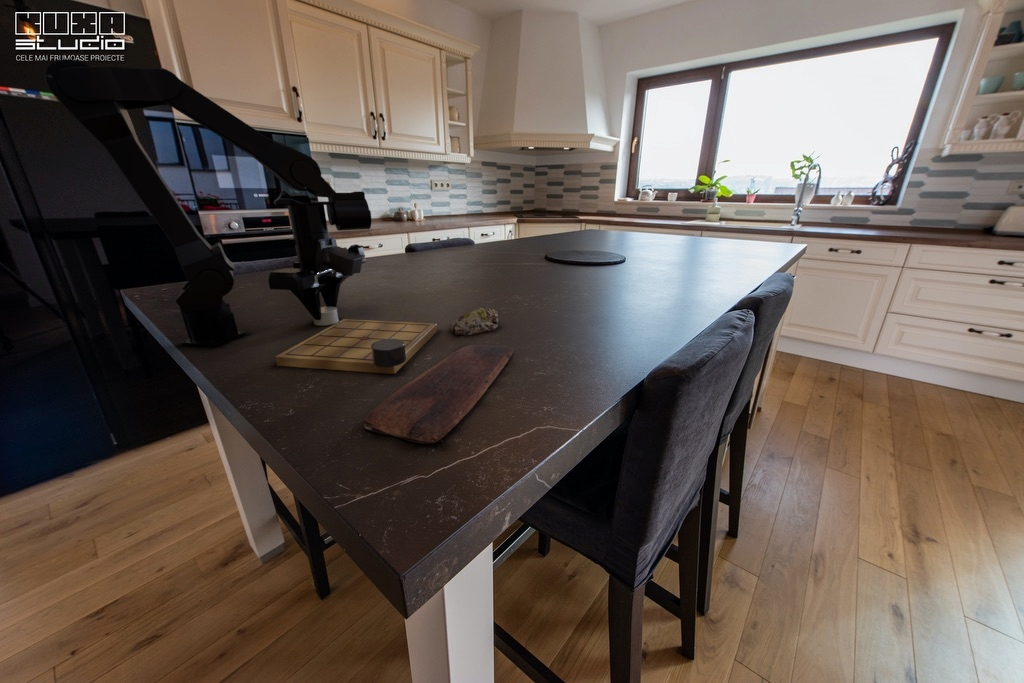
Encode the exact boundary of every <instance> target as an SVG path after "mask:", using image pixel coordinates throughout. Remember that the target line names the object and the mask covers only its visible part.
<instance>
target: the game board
mask: <svg viewBox="0 0 1024 683" xmlns="http://www.w3.org/2000/svg"><path fill="white" fill-rule="evenodd" d="M436 333H438V324H437V323H430V322H429V323H428V322H426V323H425V322H409V321H390V320H389V321H388V320H368V319H350V318H343V319H341V320H339V321H338V322H337V323H335V324H331V325H329V327H326V328H325V329H323V330H321V331H319V332H317V333H316V334H314V335H312V336H310V337H309V338H306V339H305V340H304V341H301V342H300V343H299V342H298V344H296V345H294V346H292V347H290V348H288V349H286V350H285V351H283V352H281V353H280V354H278V355H276V356H275V362H276V365H277V367H286V368H287V367H289V368H301V369H302V368H303V369H314V370H315V369H318V370H330V371H344V372H346V371H347V372H358V373H359V372H360V373H373V374H388V375H395V374H397V373H398V371H400V369H401V368H402V367H403V366H404V365H406V364H407V363H408V361H410V359H411V358H412V357H413V356H415V355H416V354H417V352H418V351H419V350H421V349H422V347H423V346H425V344H426V343H427V342H428V341H429V340H430V339H432V337H433V336H434V335H436ZM383 339H400V340H402V341H404V343H405V353H406V360H405V362H404V363H402V364H400V365H397V366H392V367H379V366H376V365H375V364H374V363H373V357H372V350H371V345H372V344H373V343H374V342H376V341H379V340H383Z"/></svg>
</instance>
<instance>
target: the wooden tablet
mask: <svg viewBox="0 0 1024 683" xmlns="http://www.w3.org/2000/svg"><path fill="white" fill-rule="evenodd" d="M513 354H514V347H512V346H505V345H504V346H503V345H485V344H468V345H465V346H463V347H461V348H459V349H457V350H455V351H453V352H452V353H450V354H449V355H448V356H446V357H444V359H442V360H440V361H439V362H438V363H436V364H435V365H433V366H431V367H429V368H428V369H427V370H425V371H424V372H422V373H421V374H419V375H418V376H416V377H415V378H413V379H412V380H411V381H409V382H407V383H406V384H405V385H403V386H402V387H400V388H399V389H397V391H395V392H394V393H392V394H391V395H390V396H388V397H387V398H386V399H385V400H384V401H382V402H381V403H380V404H378V405H377V406H376V407H374V408H373V409H372V410H371V411H370V412H369V413H368V414H367V415H366V416H365V417H364V419H363V421H362V427H363V429H365V430H367V431H371V432H373V433H378V434H381V435H388V436H393V437H396V438H400V439H402V440H405V441H407V442H410V443H417V444H421V445H432V444H435V443H437V442H439V441H440V440H441V439H443V438H444V437H445V436H447V434H448V433H449V432H450V431H452V429H453V428H454V427H455V426H457V424H459V423H460V421H462V419H464V417H466V415H467V414H468V413H469V412H470V411H471V410H472V409H473V408H474V407H475V405H476V404H477V403H478V401H480V399H481V398H482V396H483V395H484V394H485V393H486V392H487V390H488V388H489V387H490V386H491V385H492V383H493V382H494V381H495V380H496V378H497V377H498V375H499V374H500V373H501V372H502V370H503V369H504V367H505V366H506V364H507V363H508V362H509V360H510V358H511V357H512V355H513Z"/></svg>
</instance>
